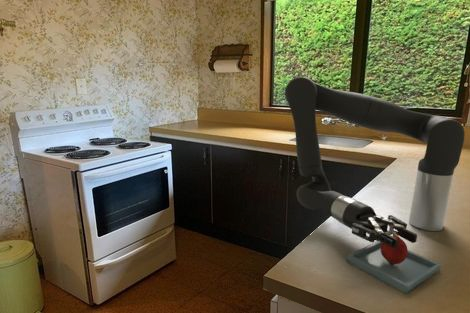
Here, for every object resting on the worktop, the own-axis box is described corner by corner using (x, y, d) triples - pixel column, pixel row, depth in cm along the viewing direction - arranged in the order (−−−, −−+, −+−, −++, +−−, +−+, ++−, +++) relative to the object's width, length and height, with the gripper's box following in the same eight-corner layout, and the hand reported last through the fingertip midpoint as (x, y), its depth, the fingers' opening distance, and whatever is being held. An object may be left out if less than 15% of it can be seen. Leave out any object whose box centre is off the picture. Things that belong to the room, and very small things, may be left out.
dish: (381, 245, 92) (382, 238, 92) (439, 271, 81) (441, 264, 80) (346, 261, 84) (347, 255, 83) (406, 294, 72) (408, 286, 72)
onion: (398, 257, 85) (402, 228, 83) (410, 270, 79) (415, 239, 77) (375, 257, 85) (378, 228, 83) (385, 271, 79) (390, 240, 77)
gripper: (333, 204, 89) (386, 232, 74) (373, 196, 95) (429, 221, 80) (330, 230, 91) (381, 263, 76) (369, 221, 97) (424, 250, 82)
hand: (406, 241), depth 78 cm, fingers open, 5 cm apart
